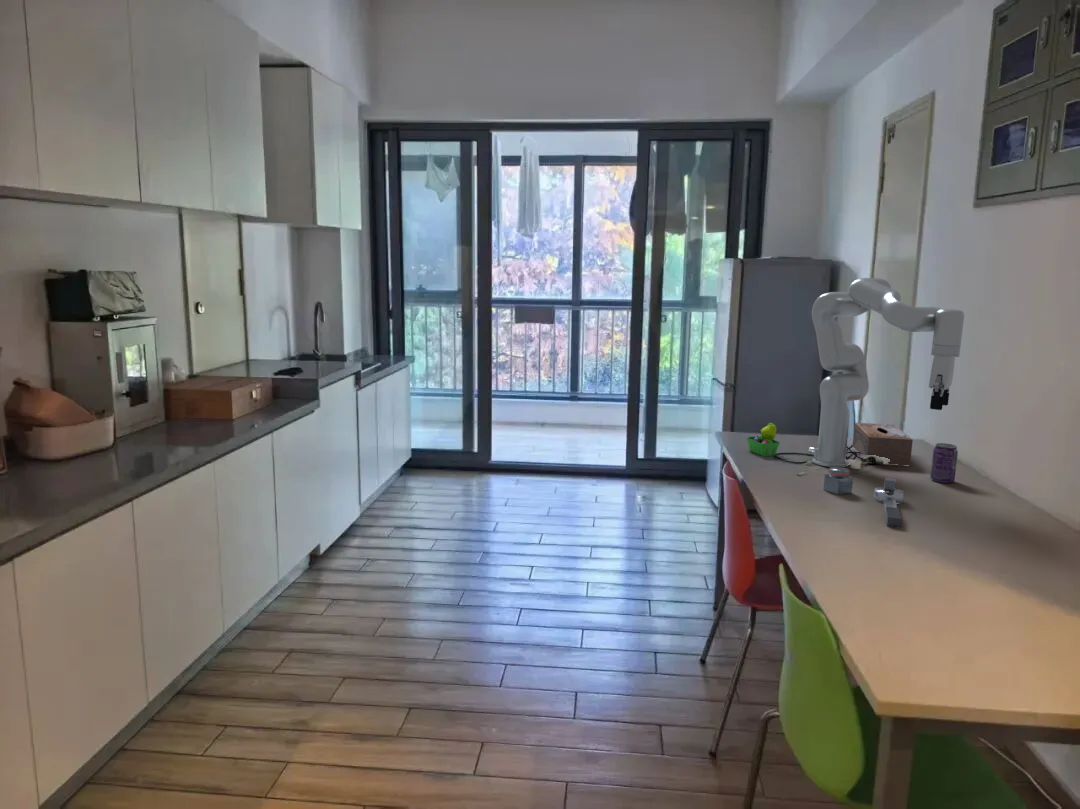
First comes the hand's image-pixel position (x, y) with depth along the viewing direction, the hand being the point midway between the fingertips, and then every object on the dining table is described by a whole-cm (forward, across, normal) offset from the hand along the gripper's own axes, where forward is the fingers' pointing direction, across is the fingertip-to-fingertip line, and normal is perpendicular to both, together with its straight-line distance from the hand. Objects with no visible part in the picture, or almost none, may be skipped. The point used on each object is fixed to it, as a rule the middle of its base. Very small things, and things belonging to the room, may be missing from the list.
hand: (938, 407), depth 234 cm
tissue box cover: (+28, -40, -24) cm, 55 cm away
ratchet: (+27, +27, -5) cm, 38 cm away
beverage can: (+27, -19, +1) cm, 33 cm away
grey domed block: (+27, +16, -23) cm, 39 cm away
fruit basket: (+28, -16, -59) cm, 67 cm away
